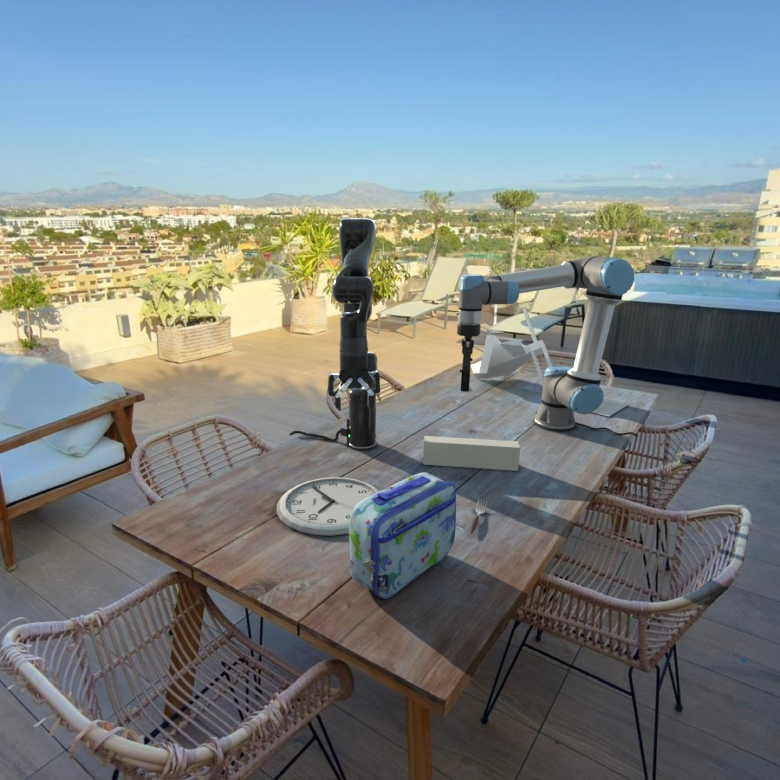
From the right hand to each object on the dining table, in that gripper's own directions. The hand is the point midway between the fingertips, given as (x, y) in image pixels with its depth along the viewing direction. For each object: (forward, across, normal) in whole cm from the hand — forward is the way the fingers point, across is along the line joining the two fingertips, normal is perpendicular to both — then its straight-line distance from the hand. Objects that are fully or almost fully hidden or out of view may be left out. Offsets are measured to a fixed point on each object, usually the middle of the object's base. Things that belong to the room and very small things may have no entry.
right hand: (465, 385), depth 177 cm
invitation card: (+22, -54, +59) cm, 83 cm away
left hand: (-2, +37, -30) cm, 48 cm away
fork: (+22, +49, +5) cm, 54 cm away
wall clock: (+22, +48, -34) cm, 63 cm away
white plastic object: (+22, -78, +22) cm, 84 cm away
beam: (+22, +15, +3) cm, 27 cm away
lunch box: (+22, +73, -11) cm, 77 cm away
